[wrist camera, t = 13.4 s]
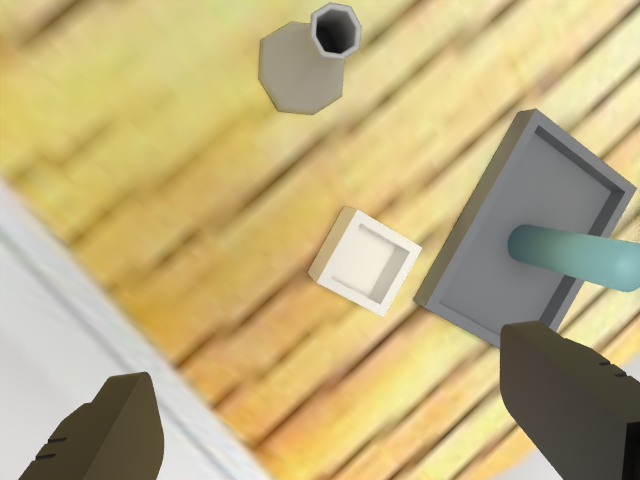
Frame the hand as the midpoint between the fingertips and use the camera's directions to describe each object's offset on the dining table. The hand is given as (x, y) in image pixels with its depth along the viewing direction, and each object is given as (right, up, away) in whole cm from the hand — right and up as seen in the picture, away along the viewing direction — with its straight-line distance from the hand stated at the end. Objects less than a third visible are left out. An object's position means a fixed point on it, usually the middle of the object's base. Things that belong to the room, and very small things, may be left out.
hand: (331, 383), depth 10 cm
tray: (+19, +3, +33) cm, 38 cm away
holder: (+3, +2, +29) cm, 29 cm away
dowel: (+19, +3, +32) cm, 37 cm away
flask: (-2, +17, +25) cm, 31 cm away
